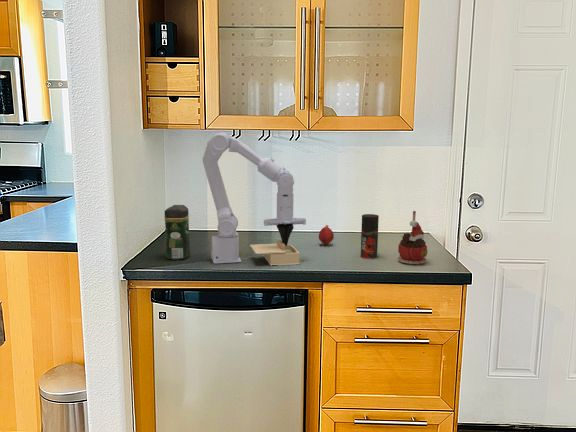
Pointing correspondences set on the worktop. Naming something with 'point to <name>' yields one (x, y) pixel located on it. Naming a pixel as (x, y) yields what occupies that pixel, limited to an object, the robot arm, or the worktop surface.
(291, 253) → the base
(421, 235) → the cake
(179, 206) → the coffee jar
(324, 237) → the onion
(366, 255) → the deodorant
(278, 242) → the lid
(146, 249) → the worktop surface
